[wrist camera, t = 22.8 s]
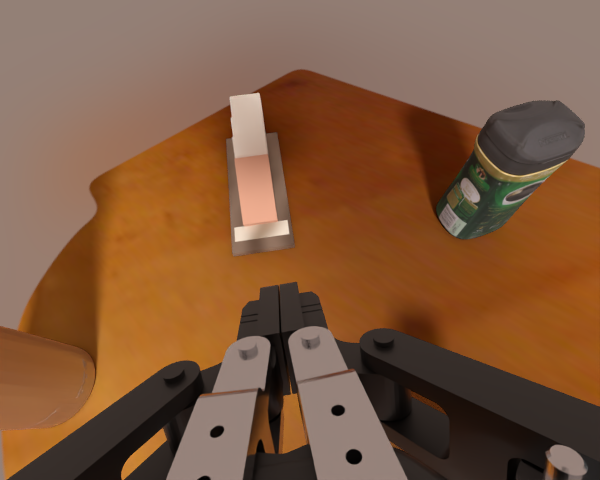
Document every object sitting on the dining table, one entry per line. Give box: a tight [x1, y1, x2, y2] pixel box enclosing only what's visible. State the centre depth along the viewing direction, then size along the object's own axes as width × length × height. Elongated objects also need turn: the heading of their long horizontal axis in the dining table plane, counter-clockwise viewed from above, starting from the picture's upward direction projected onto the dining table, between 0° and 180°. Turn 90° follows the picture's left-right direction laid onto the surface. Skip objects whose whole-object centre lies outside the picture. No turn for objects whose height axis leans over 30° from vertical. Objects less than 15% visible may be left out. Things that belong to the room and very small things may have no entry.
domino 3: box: [232, 133, 268, 158], centre depth 50 cm, size 2×5×10 cm
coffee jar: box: [436, 101, 585, 239], centre depth 41 cm, size 10×8×19 cm
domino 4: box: [234, 154, 278, 226], centre depth 48 cm, size 2×5×10 cm
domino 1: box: [229, 93, 268, 151], centre depth 54 cm, size 2×5×10 cm
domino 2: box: [231, 114, 268, 152], centre depth 52 cm, size 2×5×10 cm
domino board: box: [226, 132, 295, 256], centre depth 52 cm, size 9×22×1 cm, turn 8°
